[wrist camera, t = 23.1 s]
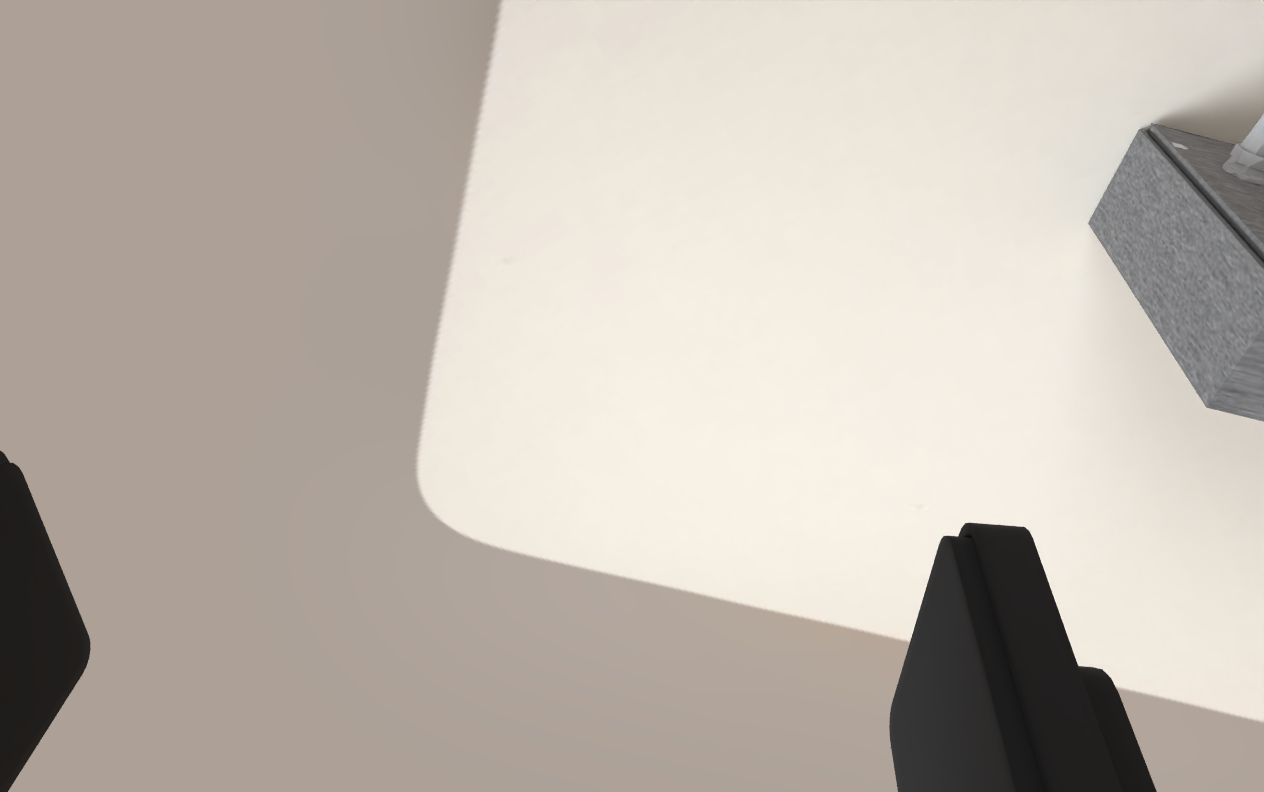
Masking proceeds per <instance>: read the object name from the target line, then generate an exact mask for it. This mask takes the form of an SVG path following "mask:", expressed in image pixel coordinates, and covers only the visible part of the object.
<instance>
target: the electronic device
mask: <svg viewBox="0 0 1264 792" xmlns="http://www.w3.org/2000/svg"><path fill="white" fill-rule="evenodd" d="M1089 225H1090V227H1091V228H1092V230H1093V231H1094V233H1095V234H1096V236H1097V237H1098V239H1099V241H1100V242H1101V244H1102V245H1103V247H1104V248H1105V250H1106V252H1107V253H1108V255H1109V256H1110V258H1111V259H1112V261H1113V262H1114V264H1115V266H1116V267H1117V269H1118V270H1119V272H1120V273H1121V275H1122V276H1123V278H1124V280H1125V281H1126V283H1127V284H1128V286H1129V287H1130V289H1131V291H1132V292H1133V294H1134V295H1135V297H1136V298H1137V300H1138V301H1139V303H1140V305H1141V306H1142V308H1143V309H1144V311H1145V312H1146V314H1147V315H1148V317H1149V319H1150V320H1151V322H1152V323H1153V325H1154V326H1155V328H1156V330H1157V331H1158V333H1159V334H1160V336H1161V337H1162V339H1163V340H1164V342H1165V344H1166V345H1167V347H1168V348H1169V350H1170V351H1171V353H1172V354H1173V356H1174V358H1175V359H1176V361H1177V362H1178V364H1179V365H1180V367H1181V369H1182V370H1183V372H1184V373H1185V375H1186V376H1187V378H1188V379H1189V381H1190V383H1191V384H1192V386H1193V387H1194V389H1195V390H1196V392H1197V393H1198V395H1199V397H1200V398H1201V400H1202V401H1203V403H1204V404H1205V406H1206V407H1207V408H1211V409H1215V410H1219V411H1223V412H1227V413H1231V414H1236V415H1240V416H1244V417H1248V418H1252V419H1256V420H1260V421H1264V113H1263V115H1262V116H1261V118H1260V119H1259V121H1258V122H1257V123H1256V125H1255V126H1254V127H1253V129H1252V130H1251V131H1250V133H1249V134H1248V135H1247V137H1246V138H1245V139H1244V141H1243V142H1242V143H1237V144H1236V145H1233V144H1229V143H1225V142H1221V141H1217V140H1214V139H1210V138H1206V137H1202V136H1198V135H1194V134H1190V133H1187V132H1183V131H1179V130H1175V129H1171V128H1167V127H1164V126H1160V125H1156V124H1152V123H1151V126H1150V128H1149V129H1148V131H1144V130H1140V129H1139V131H1138V133H1137V134H1136V136H1135V138H1134V140H1133V142H1132V144H1131V145H1130V147H1129V149H1128V151H1127V153H1126V155H1125V156H1124V158H1123V160H1122V162H1121V164H1120V166H1119V167H1118V169H1117V171H1116V173H1115V175H1114V177H1113V179H1112V180H1111V182H1110V184H1109V186H1108V188H1107V190H1106V191H1105V193H1104V195H1103V197H1102V199H1101V201H1100V202H1099V204H1098V206H1097V208H1096V210H1095V212H1094V214H1093V215H1092V217H1091V219H1090V221H1089Z"/></svg>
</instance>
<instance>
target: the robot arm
mask: <svg viewBox="0 0 1264 792" xmlns="http://www.w3.org/2000/svg"><path fill="white" fill-rule="evenodd" d="M89 654H90V639H89V635H88V633H87V630H86V628H85V625H84V623H83V621H82V618H81V615H80V613H79V610H78V608H77V605H76V603H75V601H74V598H73V596H72V593H71V591H70V588H69V586H68V583H67V581H66V579H65V576H64V574H63V571H62V569H61V566H60V564H59V561H58V559H57V556H56V554H55V551H54V549H53V547H52V544H51V542H50V539H49V537H48V534H47V532H46V529H45V527H44V525H43V522H42V520H41V517H40V515H39V512H38V510H37V507H36V505H35V503H34V500H33V497H32V495H31V493H30V490H29V488H28V485H27V483H26V480H25V478H24V475H23V473H22V472H21V470H20V468H19V467H18V466H16V465H15V464H14V463H10V462H9V461H8V459H7V457H6V456H5V454H4V453H3V452H1V451H0V792H8V790H9V789H10V787H11V786H12V784H13V783H14V781H15V779H16V778H17V776H18V775H19V773H20V771H21V770H22V768H23V767H24V765H25V764H26V762H27V760H28V759H29V757H30V756H31V754H32V753H33V751H34V750H35V748H36V746H37V745H38V743H39V742H40V740H41V739H42V737H43V735H44V734H45V732H46V731H47V729H48V727H49V726H50V724H51V723H52V721H53V720H54V718H55V716H56V715H57V713H58V712H59V710H60V709H61V707H62V705H63V704H64V702H65V701H66V699H67V698H68V696H69V694H70V693H71V691H72V690H73V688H74V687H75V685H76V683H77V682H78V680H79V679H80V677H81V676H82V674H83V672H84V670H85V668H86V666H87V663H88V660H89ZM890 742H891V749H892V755H893V761H894V768H895V775H896V781H897V787H898V792H1156V789H1155V787H1154V784H1153V781H1152V779H1151V776H1150V774H1149V771H1148V768H1147V766H1146V763H1145V760H1144V758H1143V755H1142V753H1141V750H1140V747H1139V745H1138V742H1137V740H1136V737H1135V734H1134V732H1133V729H1132V727H1131V724H1130V721H1129V719H1128V717H1127V714H1126V711H1125V708H1124V706H1123V703H1122V701H1121V698H1120V695H1119V693H1118V691H1117V689H1116V687H1115V685H1114V683H1113V681H1112V679H1111V678H1110V677H1109V676H1108V675H1107V674H1106V673H1105V672H1104V671H1103V670H1102V669H1098V668H1094V667H1082V666H1078V664H1077V662H1076V659H1075V656H1074V653H1073V650H1072V647H1071V645H1070V642H1069V639H1068V636H1067V633H1066V631H1065V628H1064V625H1063V622H1062V619H1061V616H1060V614H1059V611H1058V608H1057V605H1056V602H1055V600H1054V597H1053V594H1052V591H1051V588H1050V585H1049V583H1048V580H1047V577H1046V574H1045V571H1044V569H1043V566H1042V563H1041V560H1040V557H1039V554H1038V552H1037V549H1036V546H1035V543H1034V540H1033V538H1032V536H1031V534H1030V532H1029V530H1027V529H1026V528H1025V527H1017V526H1004V525H991V524H978V523H965V525H964V526H963V527H962V528H961V531H960V533H959V536H958V537H956V536H944V537H943V538H942V539H941V541H940V544H939V547H938V550H937V554H936V557H935V560H934V564H933V567H932V570H931V574H930V577H929V581H928V584H927V587H926V591H925V594H924V597H923V601H922V604H921V608H920V611H919V614H918V618H917V621H916V624H915V628H914V631H913V634H912V638H911V641H910V645H909V648H908V651H907V655H906V658H905V661H904V665H903V668H902V672H901V675H900V678H899V682H898V685H897V689H896V692H895V695H894V698H893V702H892V706H891V712H890Z"/></svg>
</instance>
